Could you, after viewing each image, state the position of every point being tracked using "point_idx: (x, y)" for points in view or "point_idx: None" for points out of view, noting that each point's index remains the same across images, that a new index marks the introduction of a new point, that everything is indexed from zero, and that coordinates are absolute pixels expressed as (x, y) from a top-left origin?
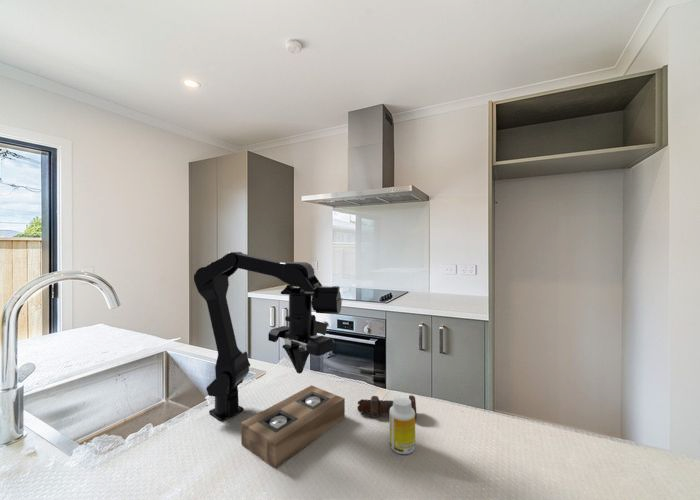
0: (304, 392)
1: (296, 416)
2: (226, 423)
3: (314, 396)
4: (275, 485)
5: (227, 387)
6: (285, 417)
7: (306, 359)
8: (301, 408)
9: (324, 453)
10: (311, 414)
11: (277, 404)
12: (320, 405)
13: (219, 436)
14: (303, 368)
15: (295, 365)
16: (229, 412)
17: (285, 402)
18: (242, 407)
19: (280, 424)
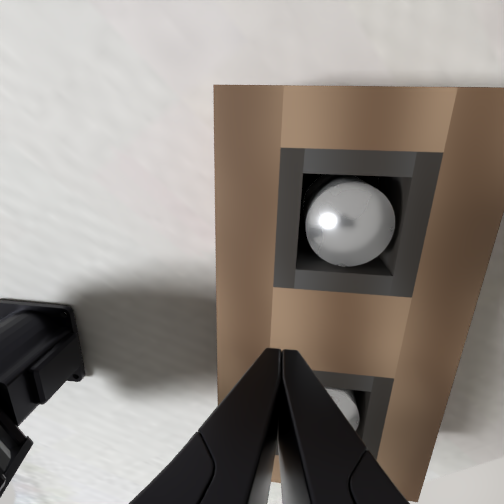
0: (246, 188)
1: (373, 371)
2: (105, 373)
3: (331, 188)
4: (430, 459)
5: (7, 480)
6: (334, 393)
7: (376, 470)
8: (350, 317)
9: (495, 328)
10: (429, 329)
11: (225, 345)
12: (427, 247)
13: (151, 414)
14: (312, 373)
15: (269, 486)
16: (74, 371)
17: (242, 317)
18: (58, 308)
19: None
